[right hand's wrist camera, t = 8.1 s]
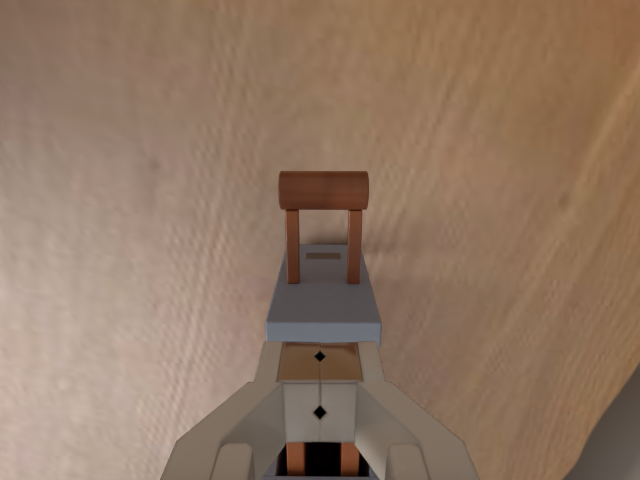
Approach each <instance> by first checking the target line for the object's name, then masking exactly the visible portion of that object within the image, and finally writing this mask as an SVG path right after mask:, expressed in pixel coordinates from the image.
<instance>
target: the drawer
mask: <svg viewBox="0 0 640 480" xmlns="http://www.w3.org/2000/svg"><path fill="white" fill-rule="evenodd" d="M368 199H369V178H368V173H367V172H366V171H281V172H280V174H279V205H280V208H281V209H282V210H286V211H285V226H286V250H285V253H284V257H283V261H282V264H281V268H280V271H279V275H278V279H277V282H276V286H275V290H274V293H273V297H272V300H271V304H270V308H269V311H268V315H267V318H266V322H265V330H266V341H282V342H284V341H291V342H320V343H326V342H361V341H375V342H376V343H377V345H378V348H380V345H381V327H382V323H381V319H380V316H379V312H378V309H377V305H376V301H375V298H374V294H373V290H372V287H371V283H370V280H369V276H368V272H367V269H366V265H365V261H364V258H363V254H362V251H361V232H362V210H366V209H367V206H368ZM299 210H348V243H347V245H299ZM286 445H287V474H288V476H319V477H358V473H359V450H358V449H357V447H356V446H355V443H345V442H294V443H286Z"/></svg>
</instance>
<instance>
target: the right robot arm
mask: <svg viewBox="0 0 640 480" xmlns="http://www.w3.org/2000/svg"><path fill="white" fill-rule="evenodd" d="M294 442H345V443H355V446H356V447H357V449H358V450H359V451H360V453H361V454H362V456H363V457H364V458H365V460H366V461H367V463H368V464H369V465H370V467H371V468H372V469H373V471H374V472H375V474H376V475H377V476H378V478H379V479H380V480H480V479H479V477H478V474H477V472H476V469H475V467H474V465H473V462H472V460H471V457H470V455H469V453H468V450H467V448H466V445H465V443H464V441H463V440H461V439H460V438H459V437H458V436H456V435H455V434H454V433H453V432H452V431H450V430H449V429H448V428H447V427H446V426H444V425H443V424H442V423H441V422H440V421H438V420H437V419H436V418H435V417H433V416H432V415H431V414H430V413H429V412H427V411H426V410H425V409H424V408H423V407H421V406H420V405H419V404H418V403H416V402H415V401H414V400H413V399H412V398H410V397H409V396H408V395H407V394H406V393H404V392H403V391H402V390H401V389H400V388H398V387H397V386H396V385H395V384H393V383H392V382H386V379H385V375H384V371H383V367H382V362H381V358H380V354H379V350H378V345H377V343H376V342H375V341H361V342H326V343H320V342H291V341H284V342H282V341H265V342H264V343H263V345H262V349H261V354H260V358H259V362H258V367H257V371H256V375H255V379H254V382H248V383H247V384H245V385H244V386H243V387H242V388H240V389H239V390H238V391H237V392H236V393H234V394H233V395H232V396H231V397H229V398H228V399H227V400H226V401H225V402H223V403H222V404H221V405H220V406H219V407H217V408H216V409H215V410H214V411H212V412H211V413H210V414H209V415H208V416H206V417H205V418H204V419H203V420H202V421H200V422H199V423H198V424H197V425H195V426H194V427H193V428H192V429H191V430H189V431H188V432H187V433H186V434H184V435H183V436H182V437H181V438H180V439H178V440H177V441H176V443H175V446H174V448H173V450H172V453H171V455H170V458H169V460H168V462H167V465H166V467H165V469H164V472H163V474H162V477H161V479H160V480H260V479H261V478H262V477H263V475H264V474H265V473H266V471H267V470H268V468H269V467H270V466H271V464H272V463H273V461H274V460H275V459H276V457H277V456H278V455H279V453H280V452H281V450H282V449H283V448H284V446H285V445H286V443H294Z"/></svg>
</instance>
